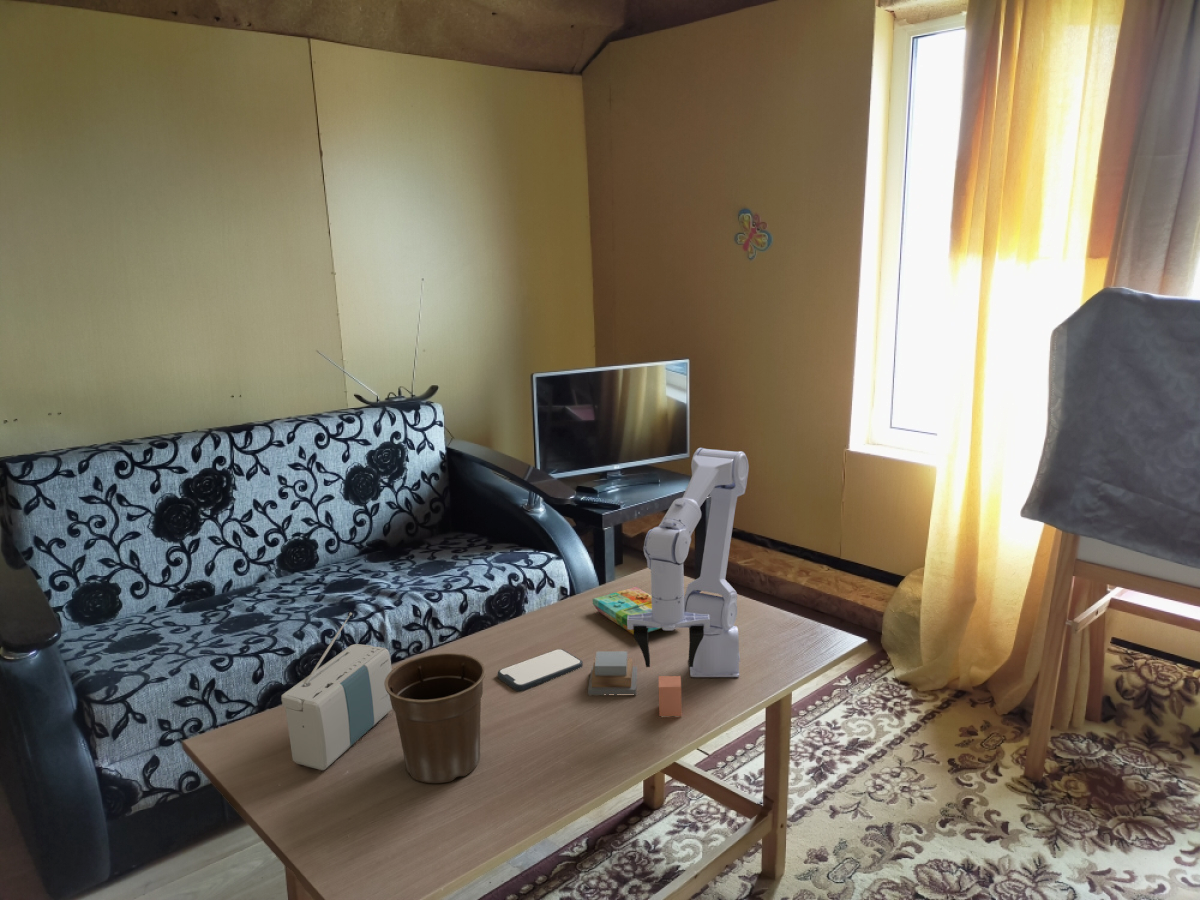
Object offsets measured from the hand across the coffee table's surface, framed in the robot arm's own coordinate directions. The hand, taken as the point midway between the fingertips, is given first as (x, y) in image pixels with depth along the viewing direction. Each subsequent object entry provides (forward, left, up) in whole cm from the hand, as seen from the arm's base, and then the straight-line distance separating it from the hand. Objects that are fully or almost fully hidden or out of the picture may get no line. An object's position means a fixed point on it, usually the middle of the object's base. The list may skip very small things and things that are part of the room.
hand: (669, 664), depth 152 cm
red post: (0, 0, -9) cm, 9 cm away
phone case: (+26, -15, -10) cm, 32 cm away
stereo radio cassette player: (+57, +9, -10) cm, 59 cm away
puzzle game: (+7, -38, -10) cm, 40 cm away
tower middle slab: (+11, -10, -8) cm, 17 cm away
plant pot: (+38, +16, -10) cm, 42 cm away
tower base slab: (+11, -10, -10) cm, 18 cm away
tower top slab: (+11, -10, -6) cm, 16 cm away
